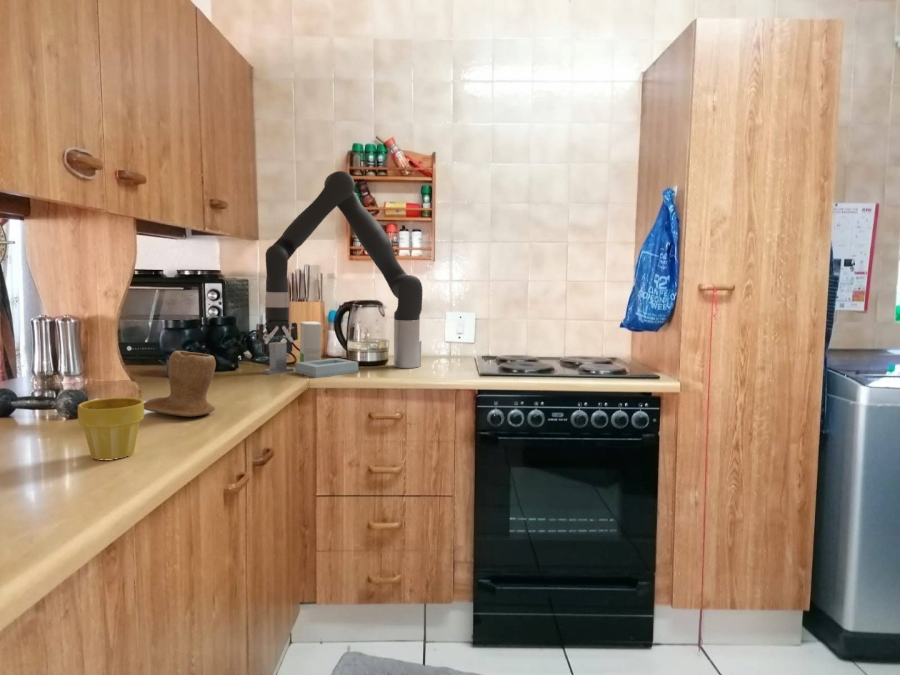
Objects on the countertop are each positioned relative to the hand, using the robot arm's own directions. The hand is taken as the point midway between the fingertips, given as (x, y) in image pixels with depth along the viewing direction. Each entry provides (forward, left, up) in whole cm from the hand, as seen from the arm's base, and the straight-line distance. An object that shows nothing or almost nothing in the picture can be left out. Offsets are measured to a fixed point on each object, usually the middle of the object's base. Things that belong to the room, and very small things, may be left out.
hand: (277, 354), depth 195 cm
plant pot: (+68, +60, -7) cm, 91 cm away
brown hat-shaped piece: (+46, +37, -7) cm, 59 cm away
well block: (-12, +11, -6) cm, 18 cm away
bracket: (0, 0, -6) cm, 6 cm away
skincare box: (-18, -8, -7) cm, 21 cm away
